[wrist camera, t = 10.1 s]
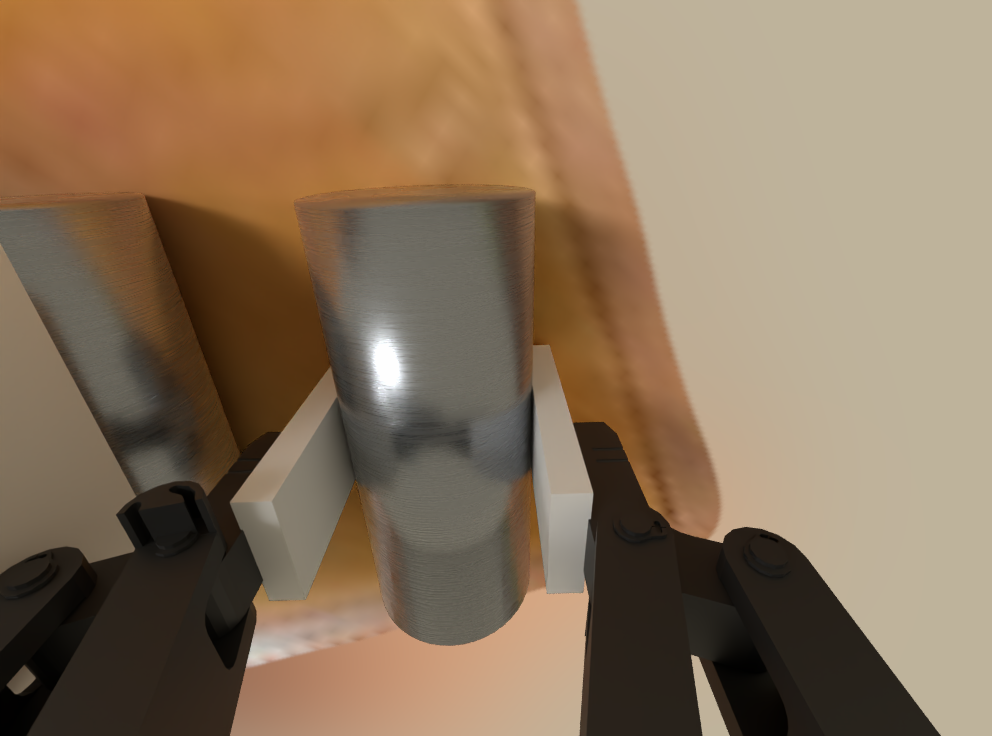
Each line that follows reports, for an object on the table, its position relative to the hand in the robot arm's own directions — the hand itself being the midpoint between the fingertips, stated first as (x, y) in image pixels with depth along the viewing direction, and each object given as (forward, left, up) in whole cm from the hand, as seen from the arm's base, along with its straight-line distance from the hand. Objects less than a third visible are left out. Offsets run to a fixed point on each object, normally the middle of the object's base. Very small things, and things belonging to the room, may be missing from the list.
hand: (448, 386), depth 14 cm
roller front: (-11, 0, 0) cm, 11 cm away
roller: (+1, 0, 0) cm, 1 cm away
